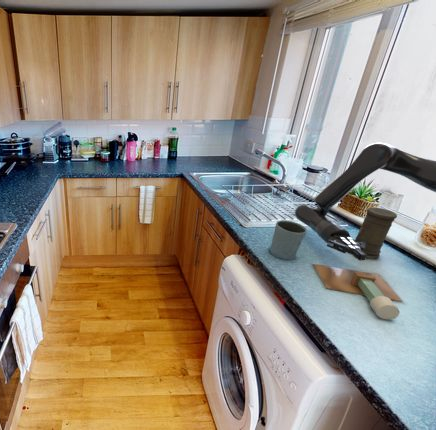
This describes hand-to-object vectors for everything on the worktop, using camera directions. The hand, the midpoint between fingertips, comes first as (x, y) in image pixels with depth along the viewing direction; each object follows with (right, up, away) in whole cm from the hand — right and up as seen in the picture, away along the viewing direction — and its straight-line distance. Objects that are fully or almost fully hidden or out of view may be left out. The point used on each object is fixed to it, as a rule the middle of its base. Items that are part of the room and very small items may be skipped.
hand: (363, 258), depth 93 cm
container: (+17, -1, +19) cm, 26 cm away
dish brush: (-1, -7, 0) cm, 7 cm away
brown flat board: (-1, -8, +2) cm, 9 cm away
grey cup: (-16, -1, +18) cm, 24 cm away
